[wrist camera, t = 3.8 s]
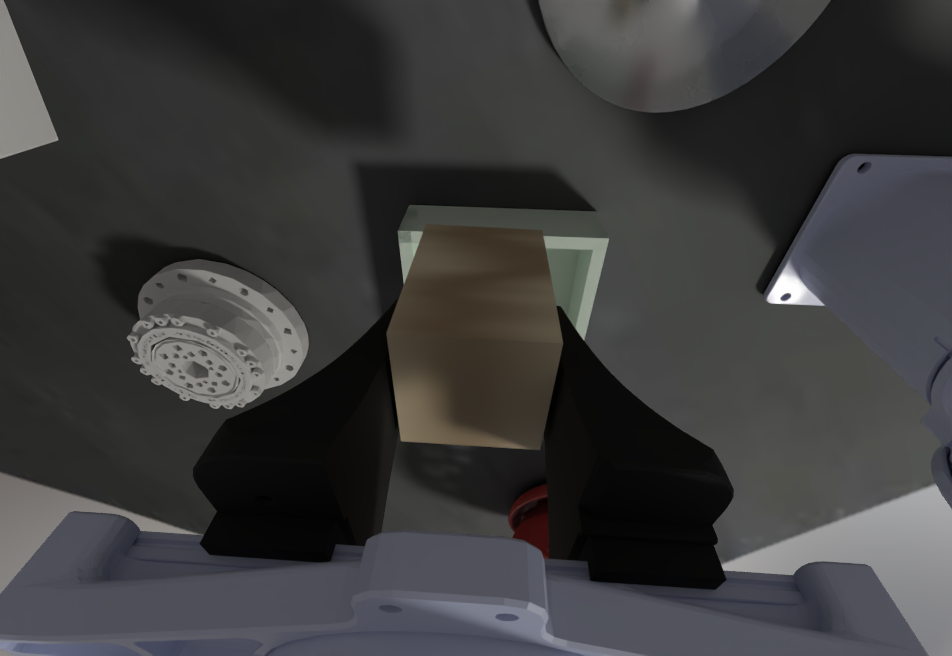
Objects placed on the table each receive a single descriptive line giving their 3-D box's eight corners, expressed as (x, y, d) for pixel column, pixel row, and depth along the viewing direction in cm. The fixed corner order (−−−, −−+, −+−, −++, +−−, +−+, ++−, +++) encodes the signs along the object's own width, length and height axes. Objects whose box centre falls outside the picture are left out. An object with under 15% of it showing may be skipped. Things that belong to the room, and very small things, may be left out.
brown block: (542, 230, 14) (563, 343, 9) (529, 323, 16) (540, 450, 12) (425, 224, 14) (386, 333, 9) (430, 317, 16) (401, 441, 12)
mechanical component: (269, 248, 23) (116, 264, 24) (228, 291, 20) (54, 307, 21) (332, 370, 29) (208, 379, 31) (309, 419, 26) (171, 426, 27)
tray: (597, 211, 20) (609, 238, 18) (567, 351, 27) (573, 384, 24) (409, 204, 21) (397, 230, 18) (422, 344, 27) (414, 377, 24)
